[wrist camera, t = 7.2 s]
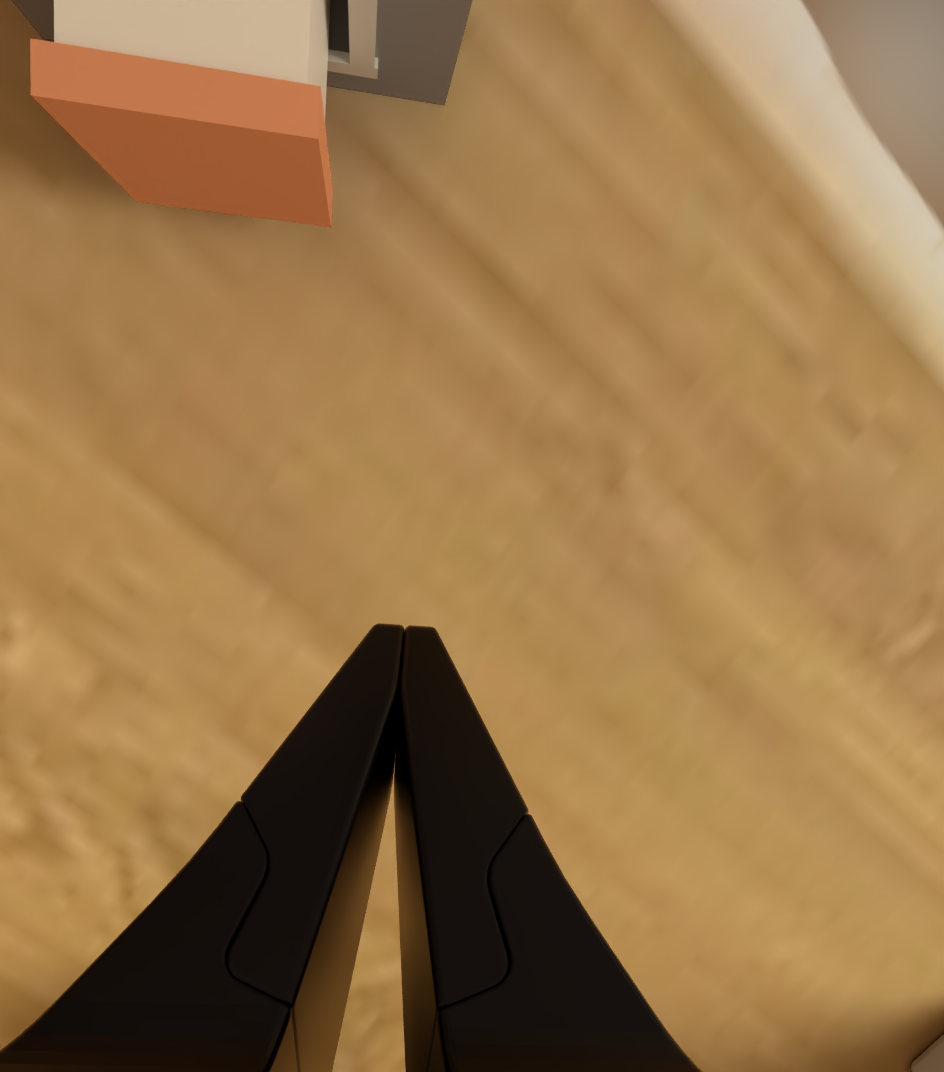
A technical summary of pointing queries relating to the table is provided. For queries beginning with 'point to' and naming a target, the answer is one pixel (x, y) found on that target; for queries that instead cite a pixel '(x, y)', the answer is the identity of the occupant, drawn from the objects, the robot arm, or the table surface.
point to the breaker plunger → (197, 100)
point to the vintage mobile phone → (931, 1058)
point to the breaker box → (368, 44)
